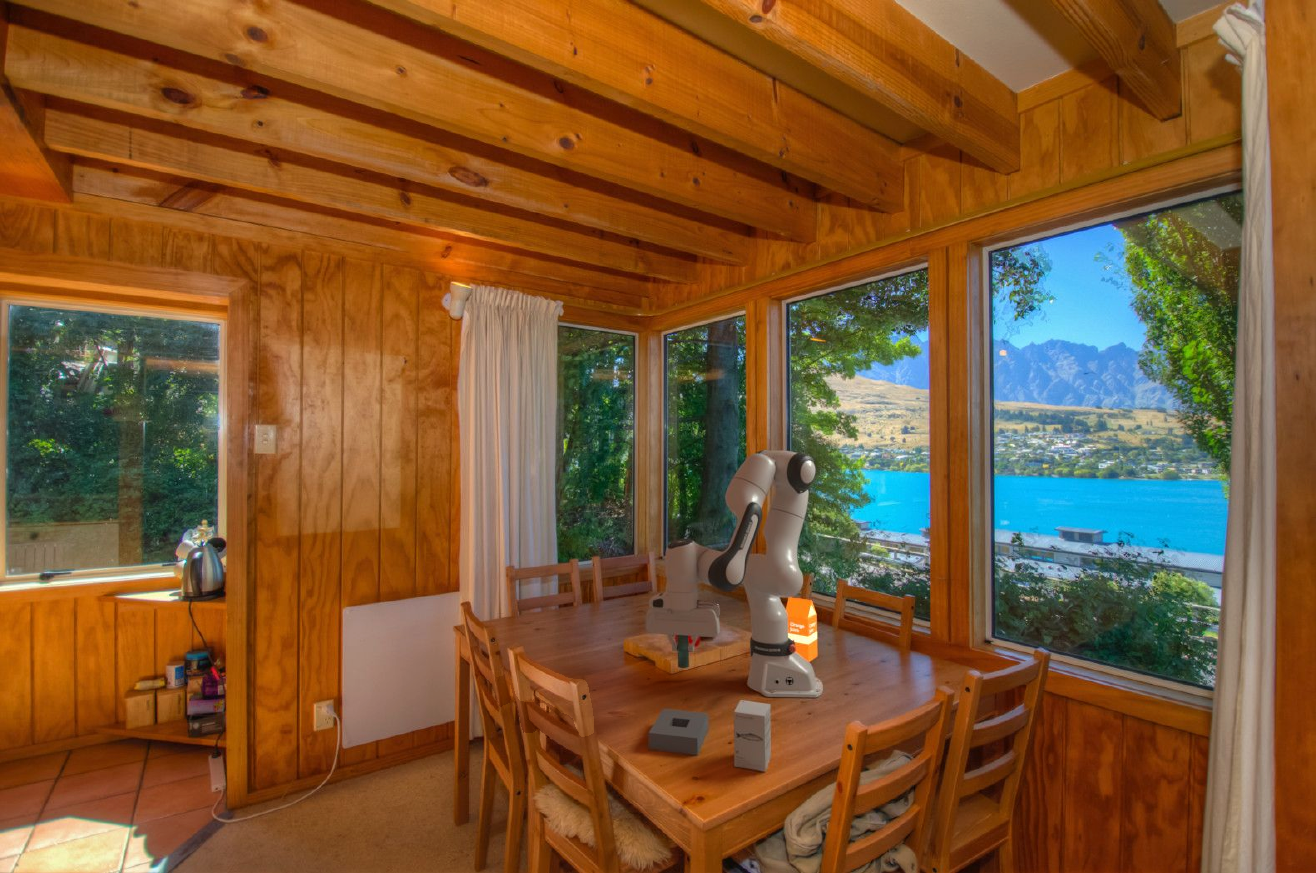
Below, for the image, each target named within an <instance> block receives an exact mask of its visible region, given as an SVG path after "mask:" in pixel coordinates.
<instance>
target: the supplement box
mask: <svg viewBox="0 0 1316 873" xmlns="http://www.w3.org/2000/svg"><path fill="white" fill-rule="evenodd" d="M771 706H772V704H770V703H763V702H757V701H750V700H742V699H740V700H739V702H738V704H737V706H736V708H735V709H734V712H733V744H734V745H733V748H734V749H733V750H734V752H733V754H734V755H733V756H734V757H733V758H734V759H733V760H734V761H733V762H734V764H733V765H734V768H742V769H749V770H753V771H759V772H763V773H764V772H765V773H766V771H767V768H768V765H769V762H770V760H771V756H772V752H771V751H772V750H771V748H772V746H771V745H772V743H771V742H772V740H771V739H772V738H771V736H772V735H771V734H772V733H771V732H772V729H771V727H772V726H771V725H772V724H771V722H772V720H771V714H772V713H771V712H772V711H771Z"/></svg>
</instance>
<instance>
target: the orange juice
mask: <svg viewBox="0 0 1316 873" xmlns="http://www.w3.org/2000/svg"><path fill="white" fill-rule="evenodd" d="M787 599H788V600H787V603H786V607H785V609H786V611H787V614H788V638H790V639H791V640H792V641H793V639H794V642H795V646H796V651H795V652H797V653H798V654H799V655H800V656H802V657H803V658H804V659H806V660H807V661H808V662H809V663H810V662H811V661H814V659H816V658H818V624H817V623H818V619H817V616H818V614H817V612H816V609H815V606H814V602H813V600H812V599H806V598H805V599H804V598H798V597H787Z"/></svg>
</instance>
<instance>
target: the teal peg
mask: <svg viewBox="0 0 1316 873" xmlns="http://www.w3.org/2000/svg"><path fill="white" fill-rule="evenodd" d="M676 638H677V641H676V643H677V645H678V651H677V667H678V668H679V669H687V668H689V667H690V655H689V653H690V652H688V645H689V644H690V643H689V636H687V635H676Z"/></svg>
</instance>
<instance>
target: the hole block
mask: <svg viewBox="0 0 1316 873" xmlns="http://www.w3.org/2000/svg"><path fill="white" fill-rule="evenodd" d="M709 719H710V718H709V713H708V712H701V711H700V712H699V711H691V710H689V711H687V710H680V709H679V710H678V709H671V708H663V709H662V710H661V712H660V714H659V715H658V717H657V719H656V720H655V721H654V723H653V724H652V727H651V728H650V730H649V731H648V750H651V751H659V752H664V753H665V752H667V753H676V754H684V755H691V756H698V755H699V753H700V751H701V748H702V746H703V743H704V741H705V738H706V737H707V734H708V732H709V729H710V728H709V726H710V725H709V722H710V721H709Z"/></svg>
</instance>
